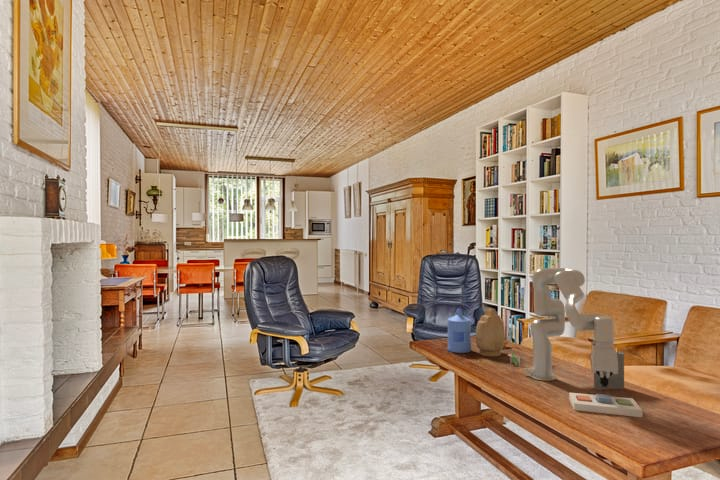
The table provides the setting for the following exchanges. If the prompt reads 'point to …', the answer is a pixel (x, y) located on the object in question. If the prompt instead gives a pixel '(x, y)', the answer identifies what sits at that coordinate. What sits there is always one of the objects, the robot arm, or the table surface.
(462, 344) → the water jug
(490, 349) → the sculpture
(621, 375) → the hip flask
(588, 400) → the terracotta button
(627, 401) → the olive green button
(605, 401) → the slate blue button
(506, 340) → the magic lamp
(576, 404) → the button board
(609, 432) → the table surface
